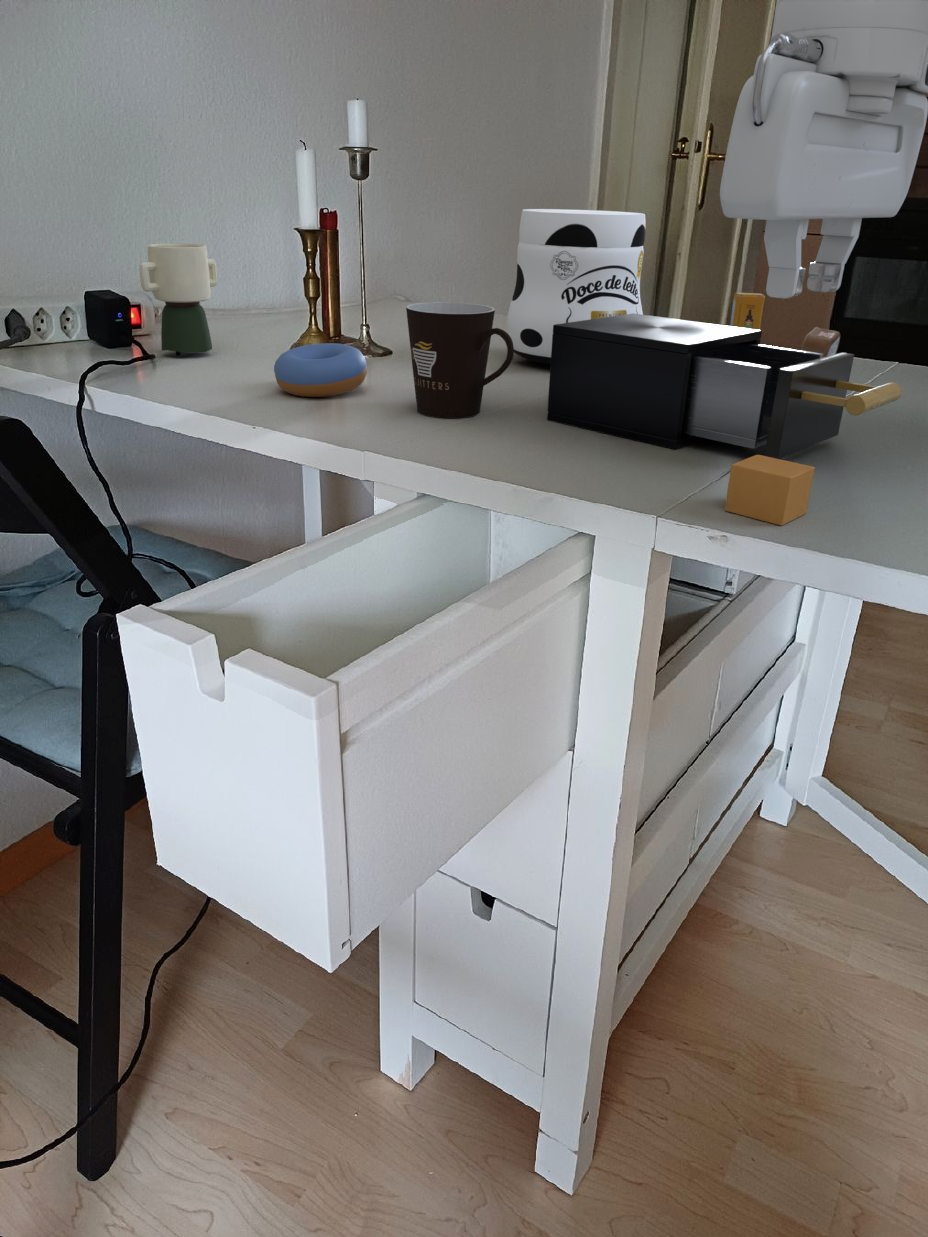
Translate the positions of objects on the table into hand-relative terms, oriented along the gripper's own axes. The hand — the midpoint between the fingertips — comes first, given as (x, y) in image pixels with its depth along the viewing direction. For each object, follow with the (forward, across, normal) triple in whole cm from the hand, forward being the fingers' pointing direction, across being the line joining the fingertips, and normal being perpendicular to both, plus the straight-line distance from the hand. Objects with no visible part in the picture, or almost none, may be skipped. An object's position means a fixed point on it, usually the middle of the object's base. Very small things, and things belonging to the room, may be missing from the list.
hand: (803, 294), depth 61 cm
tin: (+15, +33, +12) cm, 38 cm away
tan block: (+15, 0, 0) cm, 15 cm away
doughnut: (+15, +2, +53) cm, 55 cm away
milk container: (+15, +38, +46) cm, 62 cm away
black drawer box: (+15, +17, +21) cm, 31 cm away
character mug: (+15, +3, +81) cm, 82 cm away
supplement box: (+15, +45, +26) cm, 54 cm away
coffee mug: (+15, +5, +36) cm, 39 cm away
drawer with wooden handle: (+14, +17, +8) cm, 24 cm away
